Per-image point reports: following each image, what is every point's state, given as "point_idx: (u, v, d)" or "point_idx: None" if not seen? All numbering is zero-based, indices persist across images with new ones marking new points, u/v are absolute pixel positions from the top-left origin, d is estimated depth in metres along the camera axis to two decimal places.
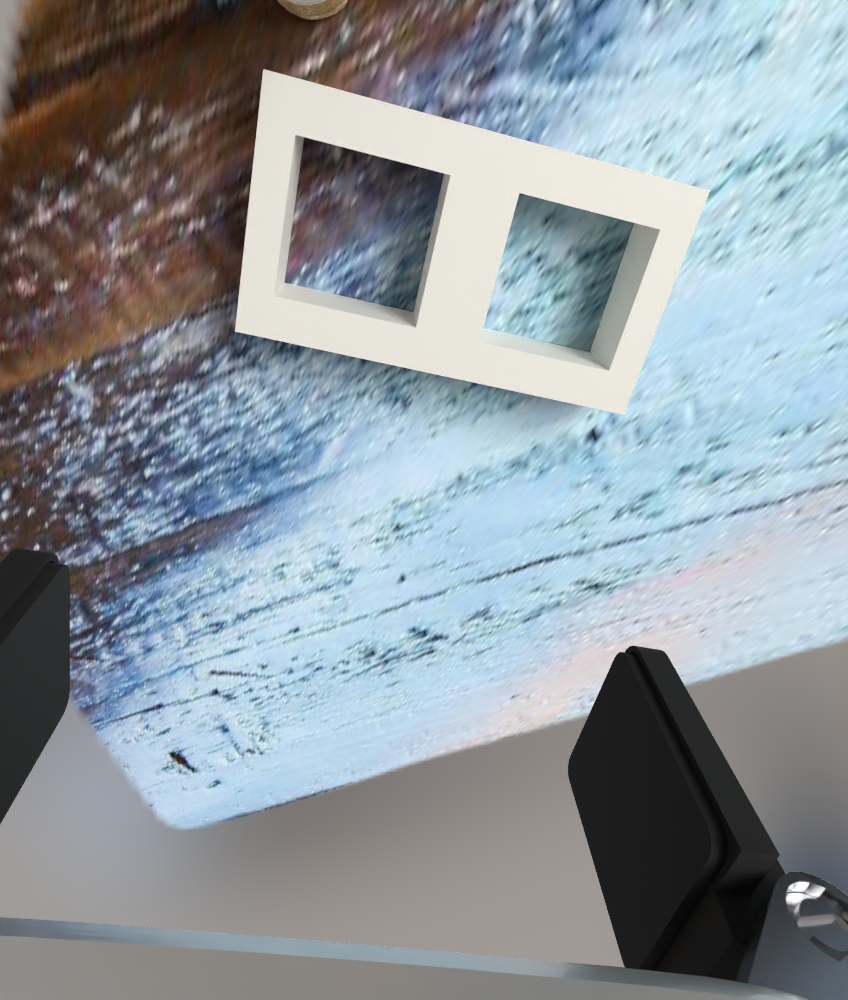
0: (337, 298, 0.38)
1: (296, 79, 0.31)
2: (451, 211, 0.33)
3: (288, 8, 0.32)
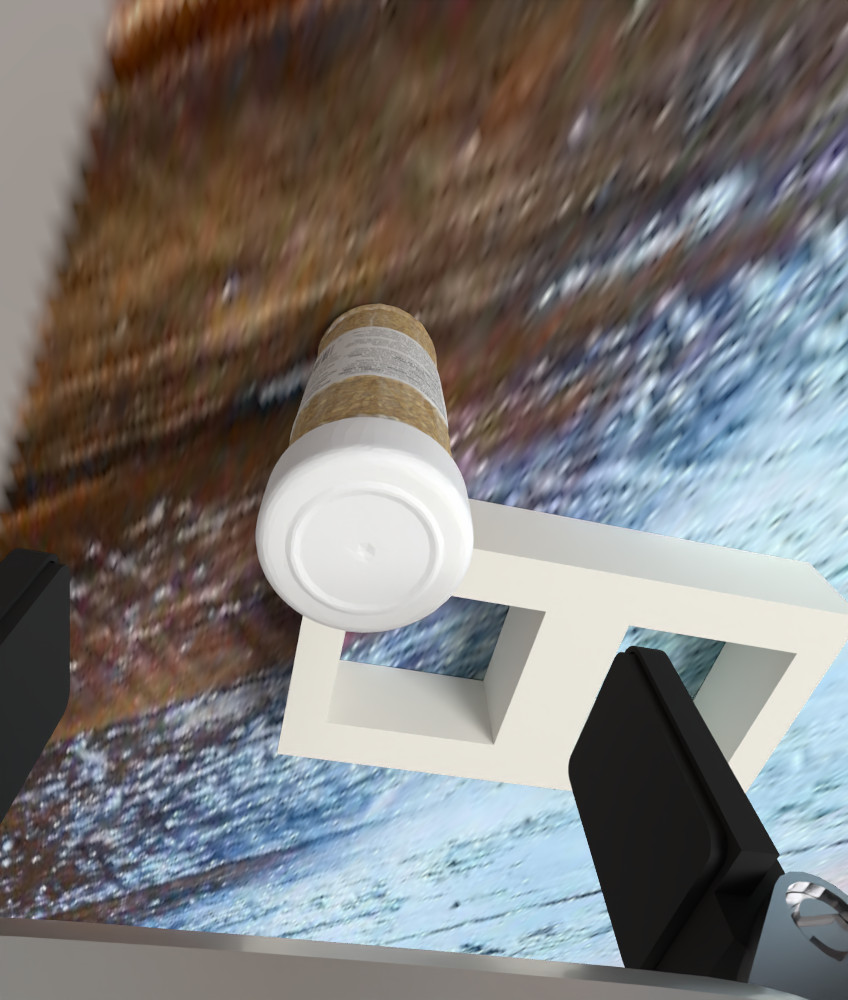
0: (396, 683, 0.32)
1: None
2: (545, 644, 0.27)
3: None
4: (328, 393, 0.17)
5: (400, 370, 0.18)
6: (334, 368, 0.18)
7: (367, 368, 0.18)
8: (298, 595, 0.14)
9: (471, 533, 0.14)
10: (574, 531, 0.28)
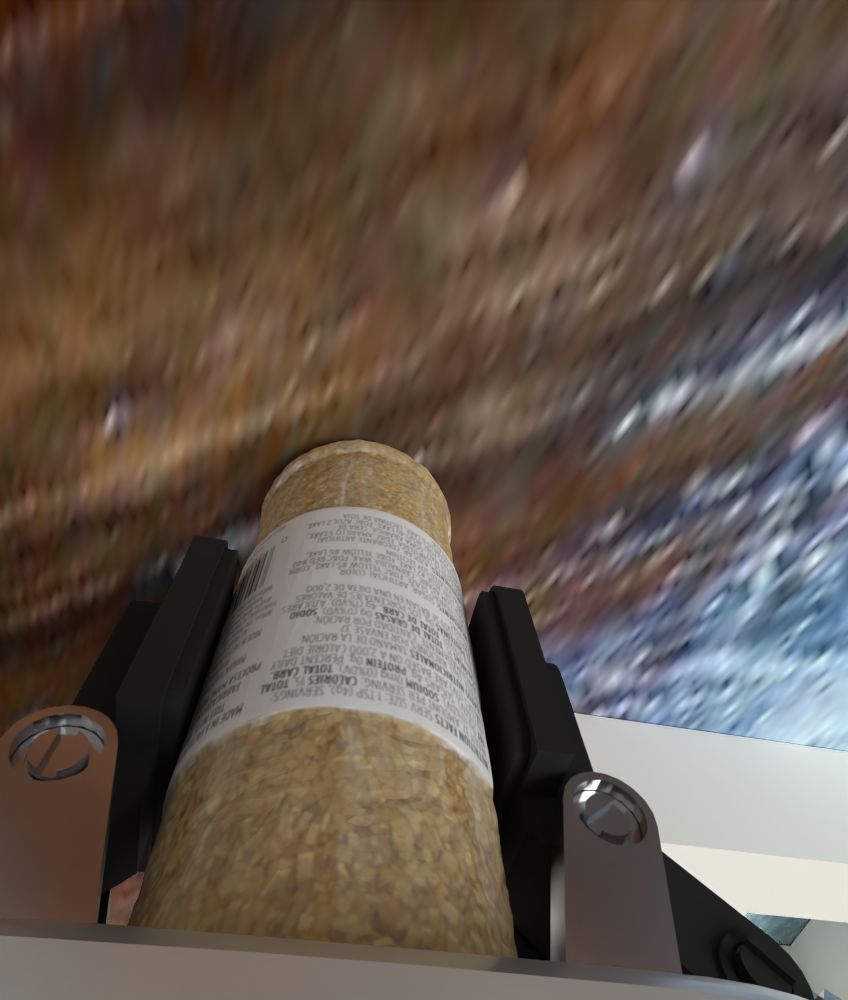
0: None
1: None
2: None
3: None
4: (229, 765, 0.07)
5: (392, 665, 0.09)
6: (258, 653, 0.09)
7: (323, 676, 0.08)
8: None
9: None
10: (655, 754, 0.19)
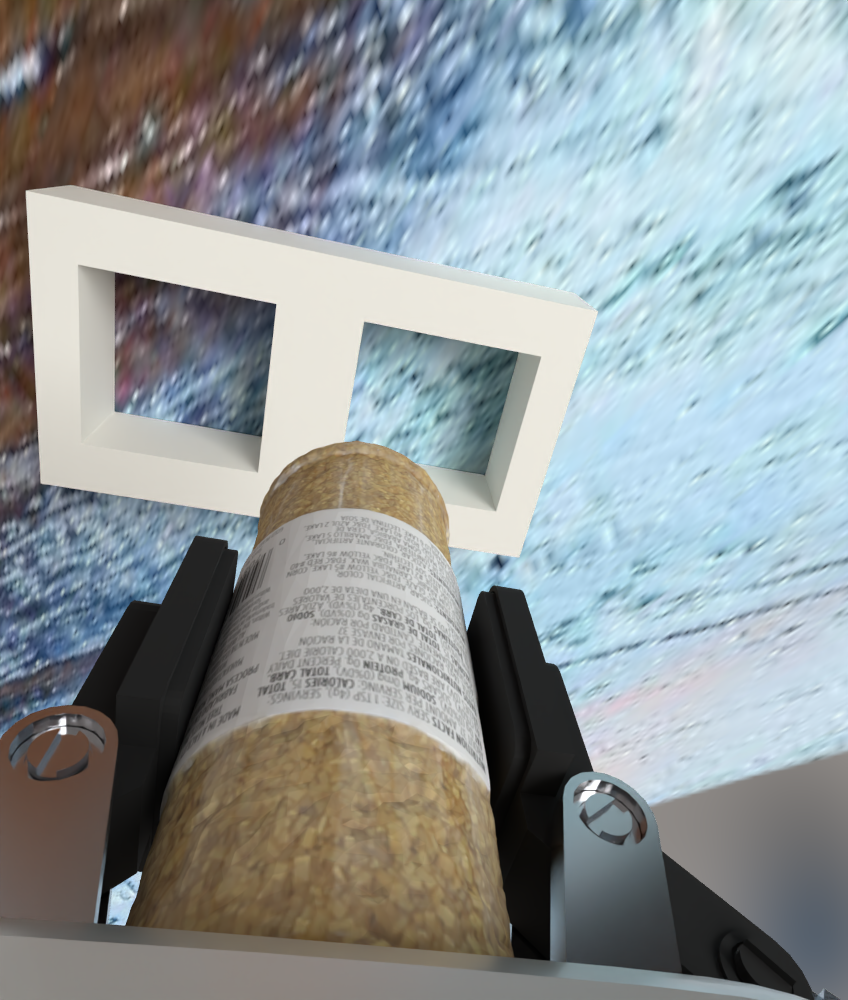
0: (174, 430, 0.32)
1: (69, 201, 0.25)
2: (284, 345, 0.28)
3: None
4: (227, 768, 0.07)
5: (390, 667, 0.09)
6: (255, 655, 0.09)
7: (320, 679, 0.08)
8: None
9: None
10: (318, 241, 0.28)
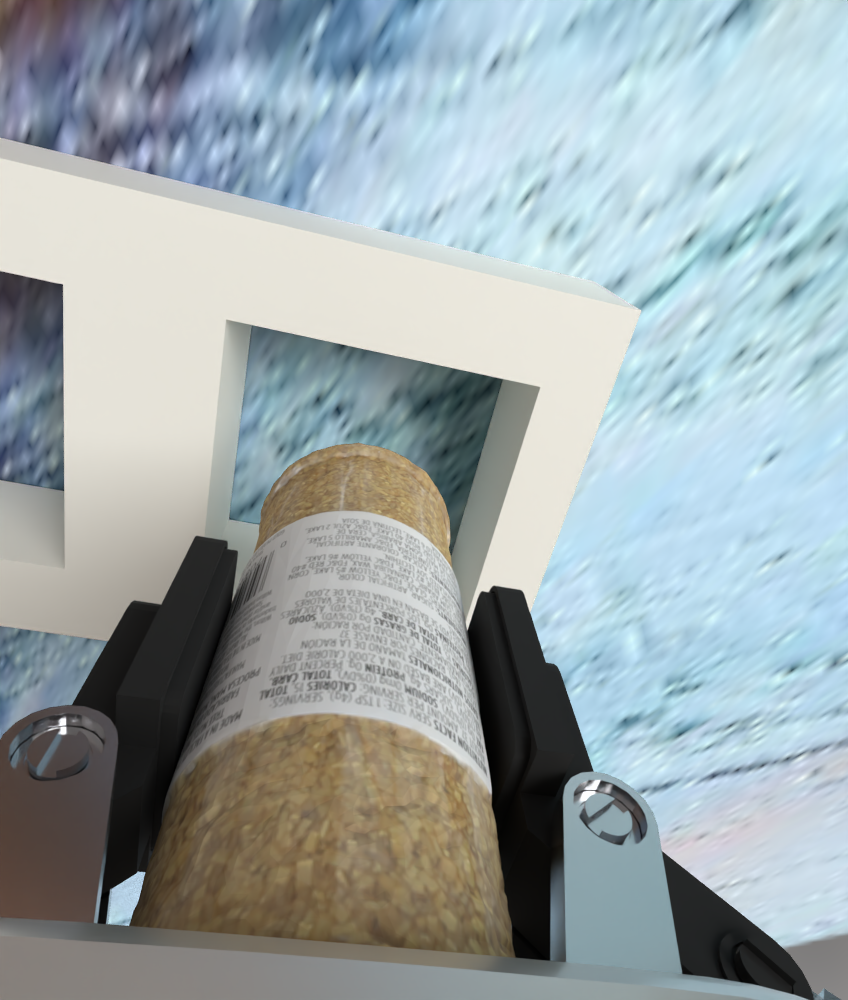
0: None
1: None
2: (85, 358, 0.16)
3: None
4: (228, 772, 0.07)
5: (392, 671, 0.09)
6: (257, 658, 0.09)
7: (322, 682, 0.08)
8: None
9: None
10: (158, 181, 0.16)
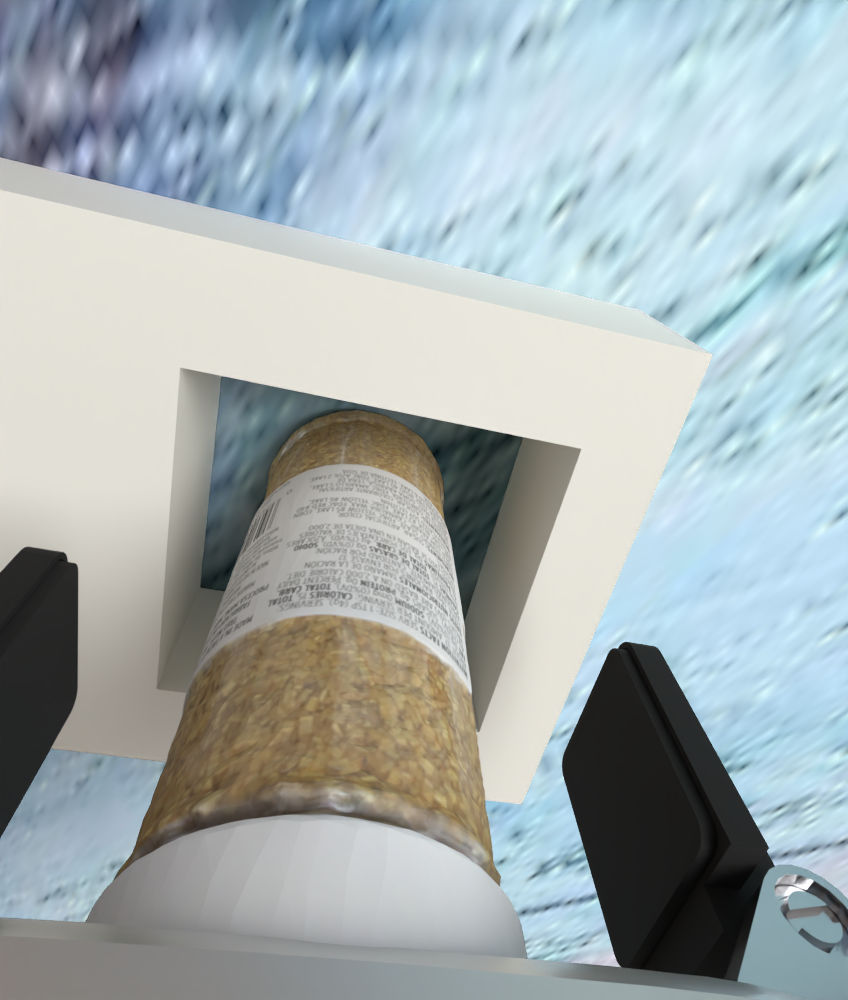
0: None
1: None
2: None
3: None
4: (241, 660, 0.09)
5: (383, 586, 0.10)
6: (266, 577, 0.10)
7: (322, 592, 0.09)
8: None
9: None
10: (99, 189, 0.13)
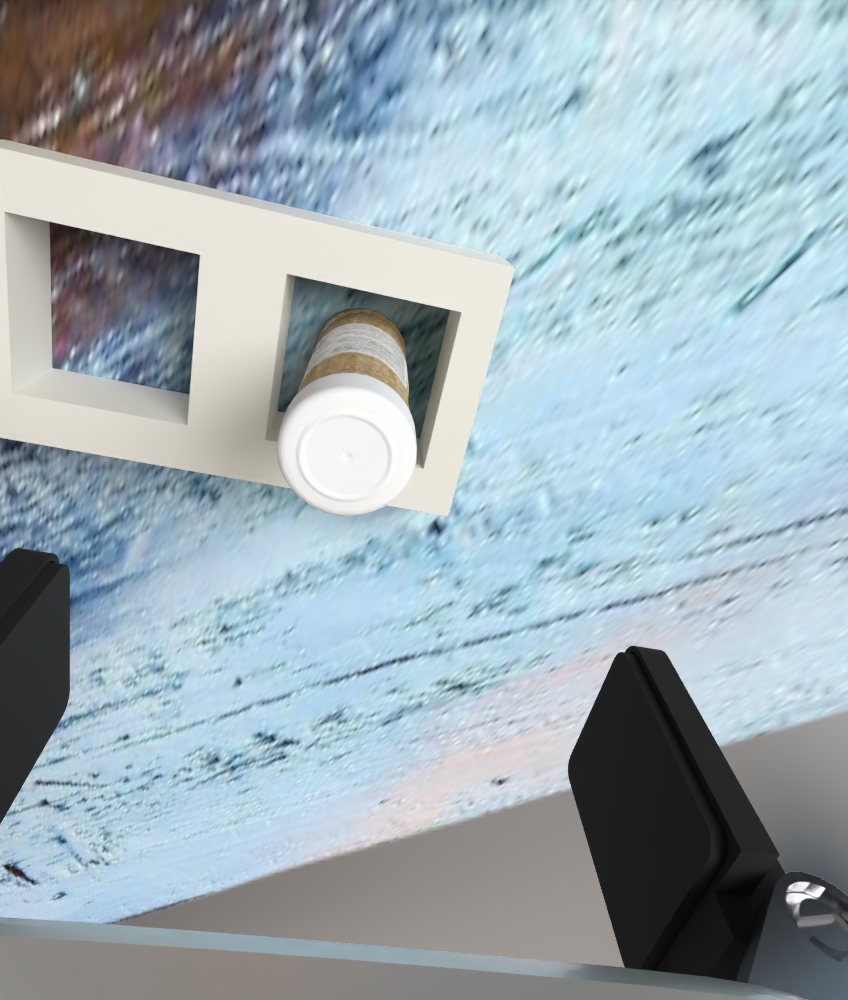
0: (110, 386, 0.33)
1: None
2: (208, 296, 0.28)
3: None
4: (322, 364, 0.25)
5: (373, 350, 0.26)
6: (327, 349, 0.26)
7: (349, 348, 0.26)
8: (304, 487, 0.22)
9: (414, 445, 0.22)
10: (246, 198, 0.29)
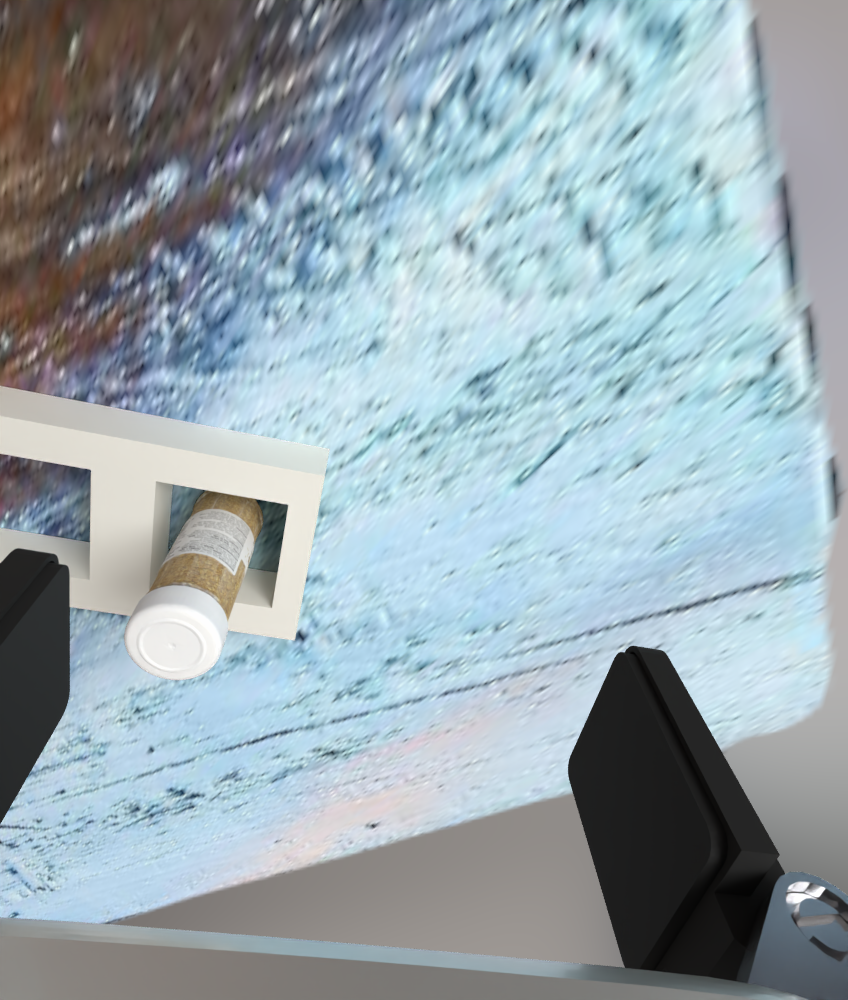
0: (35, 542, 0.43)
1: None
2: (99, 495, 0.39)
3: None
4: (169, 563, 0.35)
5: (210, 546, 0.36)
6: (179, 544, 0.37)
7: (192, 548, 0.36)
8: (144, 664, 0.32)
9: (218, 637, 0.32)
10: (129, 418, 0.39)
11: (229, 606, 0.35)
